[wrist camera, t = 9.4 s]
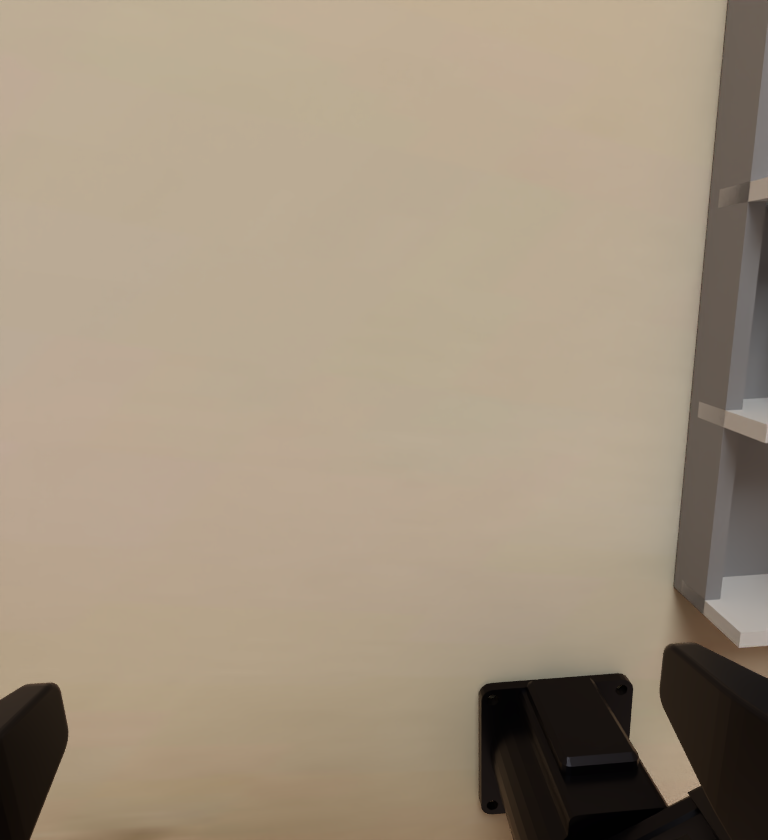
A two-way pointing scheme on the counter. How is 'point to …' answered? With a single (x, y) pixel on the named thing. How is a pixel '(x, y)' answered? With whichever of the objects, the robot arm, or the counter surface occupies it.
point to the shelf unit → (732, 357)
